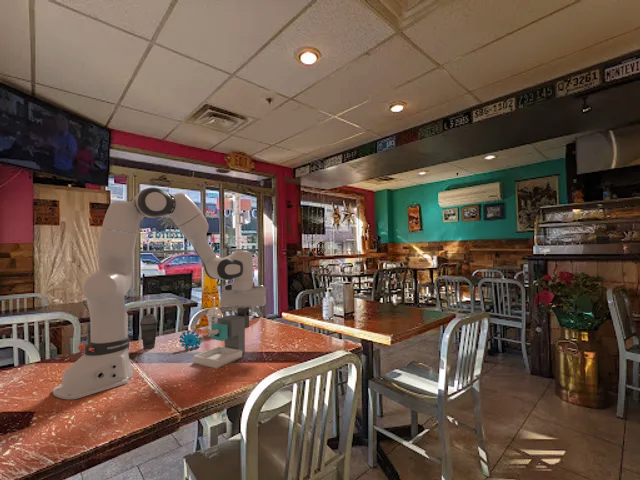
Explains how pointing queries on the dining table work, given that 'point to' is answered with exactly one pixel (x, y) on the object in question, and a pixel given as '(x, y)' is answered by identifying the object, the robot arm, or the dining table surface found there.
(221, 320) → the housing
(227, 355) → the tray
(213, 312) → the cup with straw
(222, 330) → the spacer
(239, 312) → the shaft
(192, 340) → the teal virus model
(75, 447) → the dining table surface
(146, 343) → the beverage cup
